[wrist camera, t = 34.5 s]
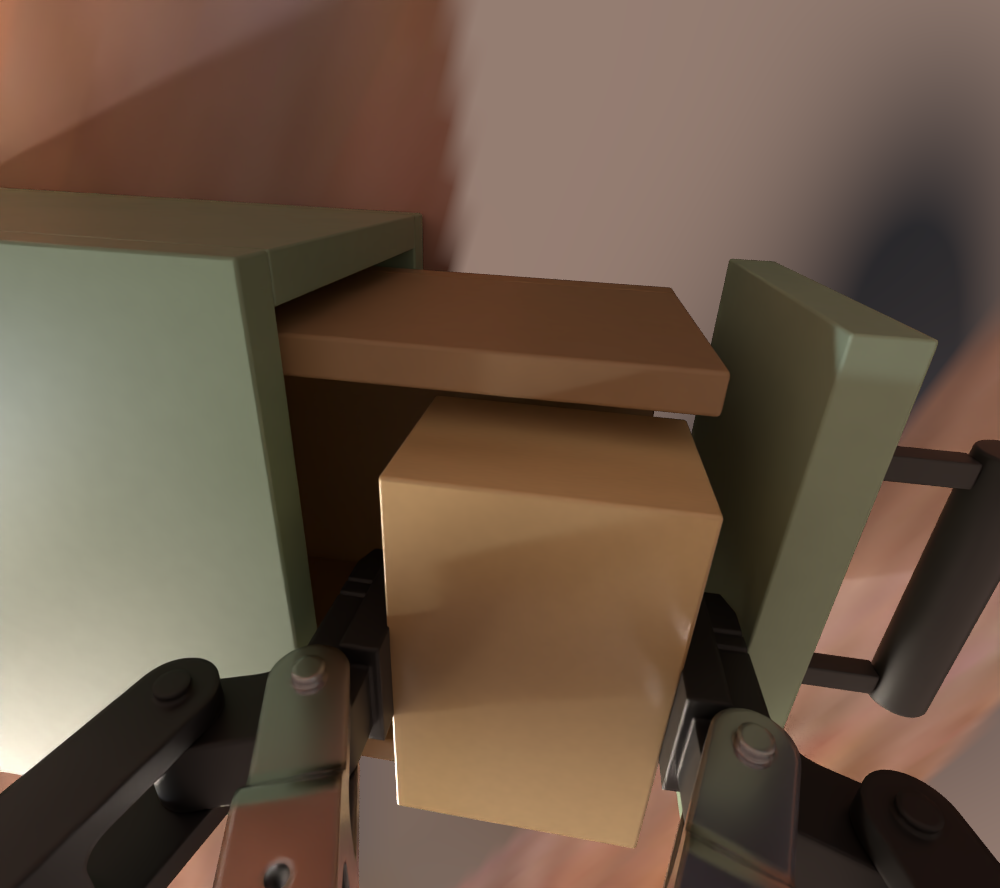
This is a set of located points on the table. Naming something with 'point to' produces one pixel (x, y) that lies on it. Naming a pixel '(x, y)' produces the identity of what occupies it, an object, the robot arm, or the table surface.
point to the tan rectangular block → (540, 609)
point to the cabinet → (152, 440)
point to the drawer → (716, 432)
